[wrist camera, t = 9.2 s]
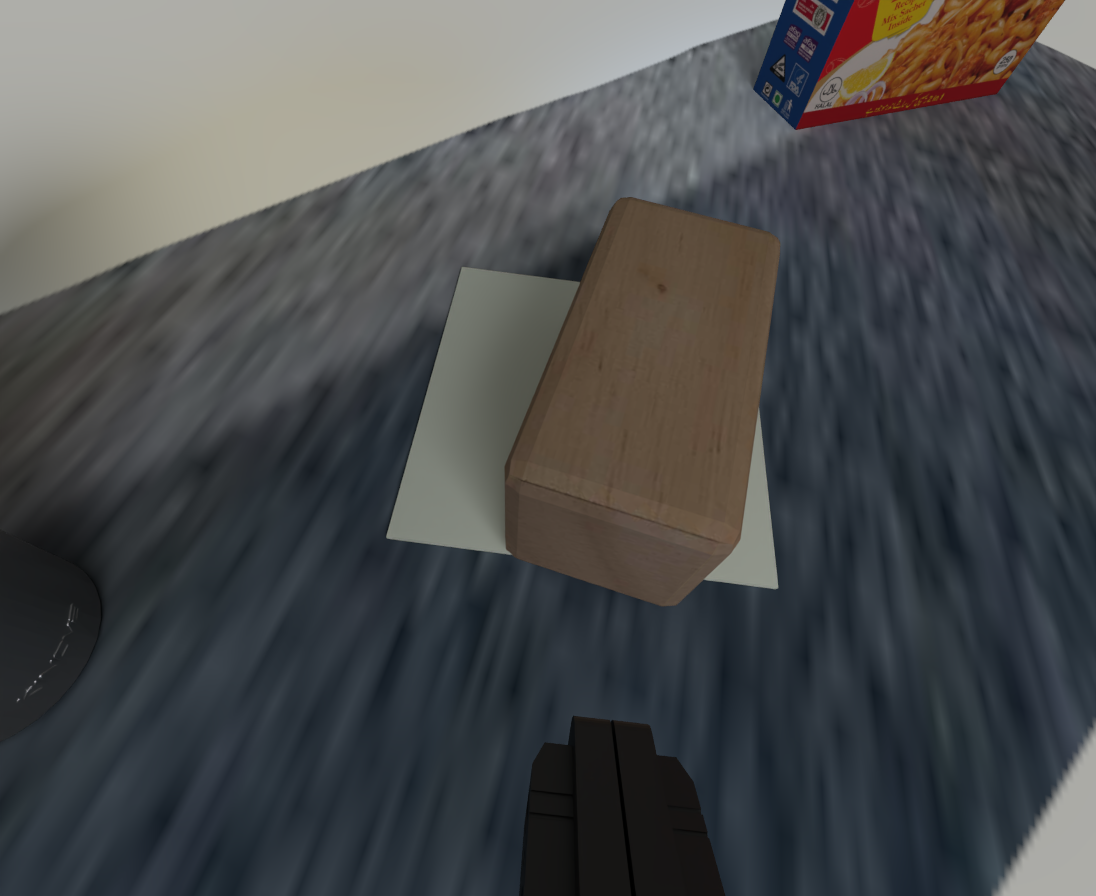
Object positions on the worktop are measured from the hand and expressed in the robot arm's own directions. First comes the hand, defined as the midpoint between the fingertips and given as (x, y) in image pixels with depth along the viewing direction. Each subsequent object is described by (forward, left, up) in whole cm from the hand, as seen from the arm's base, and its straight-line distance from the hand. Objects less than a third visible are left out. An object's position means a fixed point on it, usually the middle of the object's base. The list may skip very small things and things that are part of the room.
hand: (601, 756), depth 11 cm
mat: (+1, +21, -17) cm, 27 cm away
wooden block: (+1, +8, -12) cm, 14 cm away
